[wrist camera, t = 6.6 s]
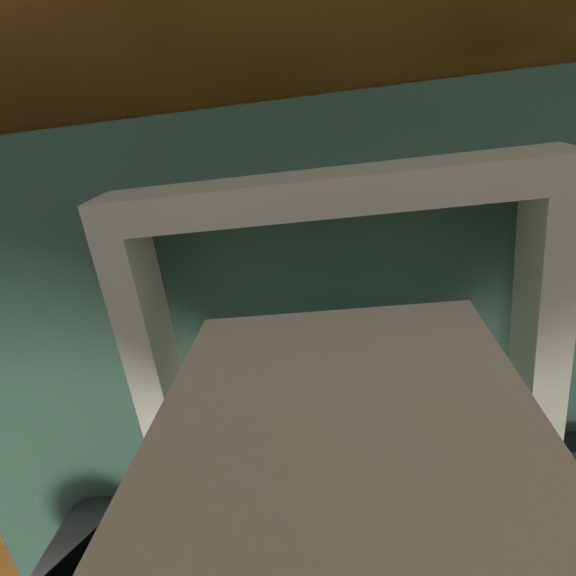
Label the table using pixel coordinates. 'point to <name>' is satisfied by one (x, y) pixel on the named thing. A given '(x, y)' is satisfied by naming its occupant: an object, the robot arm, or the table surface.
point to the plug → (344, 456)
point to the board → (264, 256)
